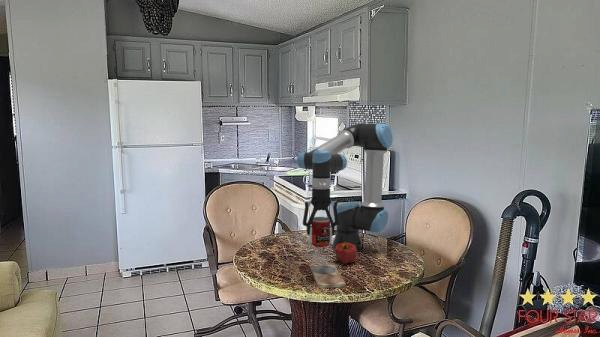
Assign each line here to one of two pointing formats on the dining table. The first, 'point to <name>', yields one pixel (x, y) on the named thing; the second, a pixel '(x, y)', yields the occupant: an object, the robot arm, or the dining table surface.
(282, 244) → the dining table surface
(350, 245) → the red apple
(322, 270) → the board
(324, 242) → the canned food
